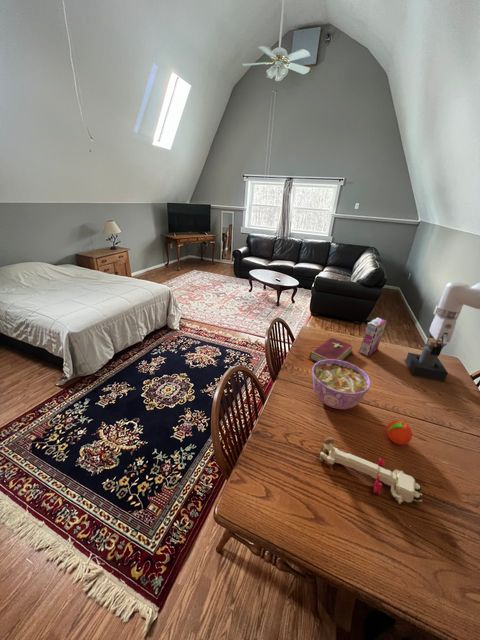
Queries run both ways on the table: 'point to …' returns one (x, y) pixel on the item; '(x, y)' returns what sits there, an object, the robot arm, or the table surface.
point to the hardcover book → (331, 350)
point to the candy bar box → (372, 336)
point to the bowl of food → (339, 383)
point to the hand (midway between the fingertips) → (431, 350)
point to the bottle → (428, 354)
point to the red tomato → (399, 432)
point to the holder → (425, 368)
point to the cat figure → (375, 473)
